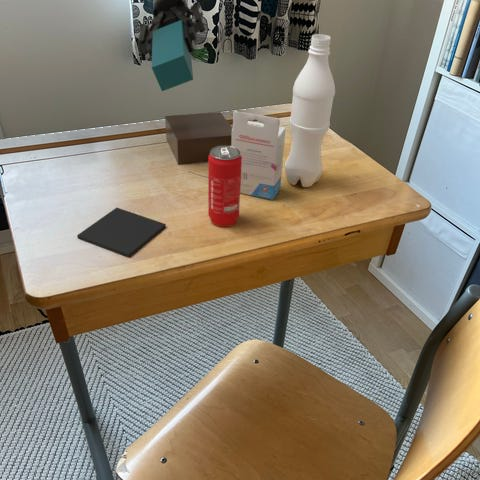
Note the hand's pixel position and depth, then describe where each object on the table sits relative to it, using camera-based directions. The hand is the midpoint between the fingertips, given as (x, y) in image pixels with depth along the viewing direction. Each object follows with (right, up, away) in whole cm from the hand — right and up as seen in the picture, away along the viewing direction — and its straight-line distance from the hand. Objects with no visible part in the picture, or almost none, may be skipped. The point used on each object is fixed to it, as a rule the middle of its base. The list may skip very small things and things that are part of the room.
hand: (171, 51), depth 96 cm
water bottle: (+25, -24, +3) cm, 34 cm away
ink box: (+15, -26, -1) cm, 31 cm away
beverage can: (+10, -33, -9) cm, 36 cm away
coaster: (-6, -36, -13) cm, 39 cm away
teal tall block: (0, -1, -1) cm, 1 cm away
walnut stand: (+4, -15, +11) cm, 19 cm away
